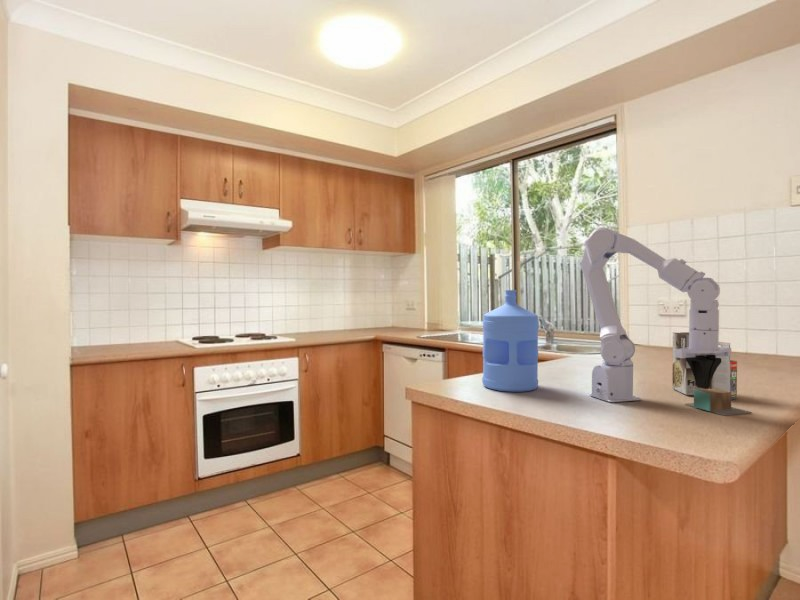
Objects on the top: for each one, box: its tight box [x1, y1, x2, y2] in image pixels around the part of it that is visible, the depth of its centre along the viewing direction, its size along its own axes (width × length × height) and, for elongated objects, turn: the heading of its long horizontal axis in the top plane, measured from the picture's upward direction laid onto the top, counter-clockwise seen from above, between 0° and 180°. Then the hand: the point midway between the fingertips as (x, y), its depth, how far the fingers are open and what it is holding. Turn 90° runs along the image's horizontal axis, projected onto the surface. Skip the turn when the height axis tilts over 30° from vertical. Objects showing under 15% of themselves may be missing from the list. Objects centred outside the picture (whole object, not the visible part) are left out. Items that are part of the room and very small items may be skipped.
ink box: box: [711, 341, 738, 400], centre depth 119 cm, size 4×8×15 cm, turn 27°
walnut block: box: [693, 389, 732, 412], centre depth 106 cm, size 4×4×6 cm
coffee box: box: [672, 331, 711, 396], centre depth 123 cm, size 9×6×16 cm
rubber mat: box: [684, 402, 752, 417], centre depth 106 cm, size 8×10×1 cm
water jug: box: [481, 289, 540, 393], centre depth 130 cm, size 16×16×28 cm
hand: (702, 387), depth 105 cm, fingers closed
